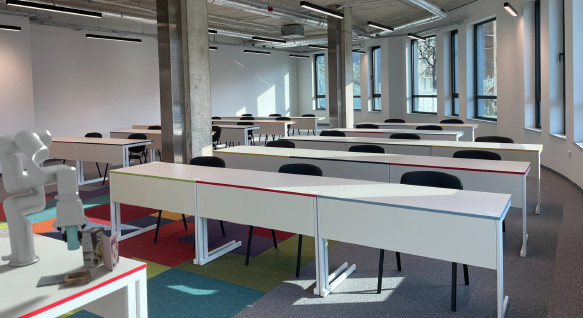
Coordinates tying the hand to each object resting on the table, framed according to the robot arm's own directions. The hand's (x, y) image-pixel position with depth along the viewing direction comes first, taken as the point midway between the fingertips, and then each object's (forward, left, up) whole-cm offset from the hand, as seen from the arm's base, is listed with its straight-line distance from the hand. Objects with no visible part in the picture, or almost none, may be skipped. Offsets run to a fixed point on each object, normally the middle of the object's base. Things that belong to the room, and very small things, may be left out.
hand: (73, 240), depth 195 cm
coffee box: (+6, +19, -18) cm, 26 cm away
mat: (-10, +5, -17) cm, 20 cm away
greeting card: (+12, +12, -18) cm, 24 cm away
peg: (0, 0, -3) cm, 3 cm away
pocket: (0, 0, -17) cm, 17 cm away
